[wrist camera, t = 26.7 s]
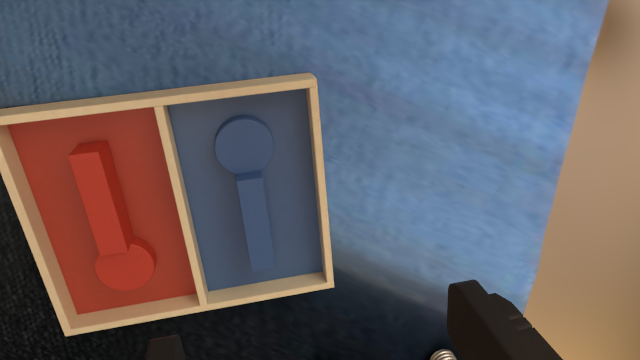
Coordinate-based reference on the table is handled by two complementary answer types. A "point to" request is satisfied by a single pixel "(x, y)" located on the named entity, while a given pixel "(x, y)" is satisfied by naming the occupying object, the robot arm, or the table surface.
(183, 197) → the sorting tray
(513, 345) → the robot arm
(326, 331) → the table surface
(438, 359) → the lightbulb
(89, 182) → the red spoon
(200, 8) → the table surface
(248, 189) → the blue spoon
